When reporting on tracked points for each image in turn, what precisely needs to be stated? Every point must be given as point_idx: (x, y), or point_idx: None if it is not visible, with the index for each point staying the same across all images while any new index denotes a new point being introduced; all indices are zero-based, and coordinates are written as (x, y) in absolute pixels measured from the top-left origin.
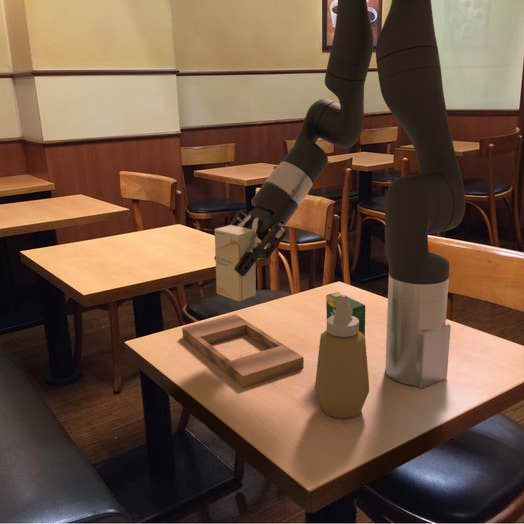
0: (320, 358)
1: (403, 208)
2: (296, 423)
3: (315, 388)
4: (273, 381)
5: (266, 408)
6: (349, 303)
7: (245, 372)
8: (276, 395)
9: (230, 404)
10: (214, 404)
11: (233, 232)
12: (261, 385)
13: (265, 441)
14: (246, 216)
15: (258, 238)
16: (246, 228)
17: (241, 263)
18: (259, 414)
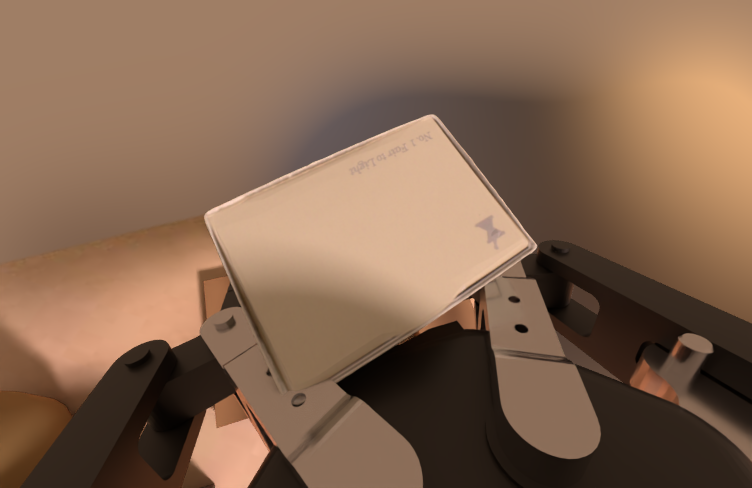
0: None
1: None
2: (48, 335)
3: (10, 391)
4: None
5: (125, 301)
6: None
7: (214, 288)
8: (155, 331)
9: (171, 251)
10: (185, 230)
11: (297, 201)
12: (203, 316)
13: (36, 271)
14: (680, 421)
15: (247, 408)
16: (396, 341)
17: None
18: (114, 285)
